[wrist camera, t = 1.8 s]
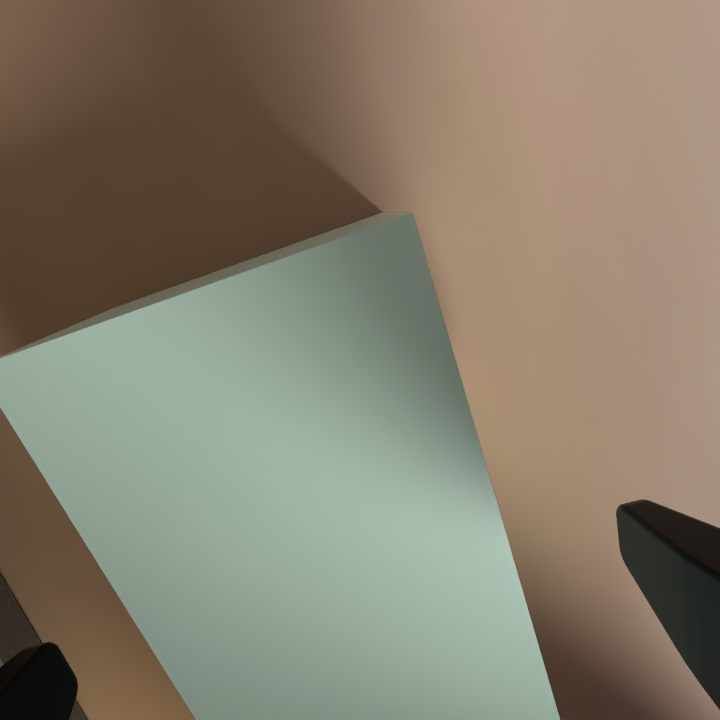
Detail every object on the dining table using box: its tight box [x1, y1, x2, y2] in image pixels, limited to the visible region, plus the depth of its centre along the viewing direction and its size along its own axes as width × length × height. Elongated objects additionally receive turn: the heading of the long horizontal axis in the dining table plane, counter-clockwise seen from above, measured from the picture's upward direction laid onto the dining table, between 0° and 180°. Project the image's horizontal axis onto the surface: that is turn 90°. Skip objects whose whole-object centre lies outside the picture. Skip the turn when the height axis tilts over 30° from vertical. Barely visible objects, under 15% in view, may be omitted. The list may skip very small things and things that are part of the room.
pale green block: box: [0, 212, 560, 720], centre depth 9 cm, size 6×10×4 cm, turn 19°
